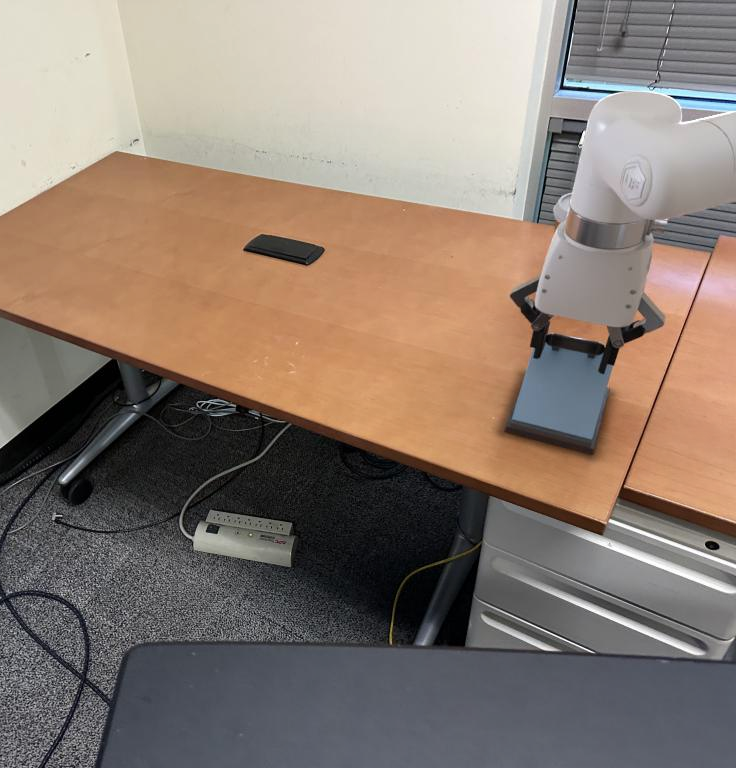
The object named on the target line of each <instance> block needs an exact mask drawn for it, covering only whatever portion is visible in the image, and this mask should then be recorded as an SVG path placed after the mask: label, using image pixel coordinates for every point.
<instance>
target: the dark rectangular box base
mask: <svg viewBox="0 0 736 768" xmlns="http://www.w3.org/2000/svg"><path fill="white" fill-rule="evenodd" d="M522 384H523V381H522V382H521V386H520V388H519V390H518V393H517V395H516V398H515V401H514V404H513V406H512V409H511V410H510V413H509V416H508V418H507V421H506V424H505V426H504V432H505V433H507V434H512V435H515V436H519V437H523V438H527V439H531V440H534V441H538V442H541V443H545V444H548V445H552V446H556V447H560V448H565V449H566V450H567V449H568V450H572V451H576V452H578V453H579V452H580V453H583V454H586V455H590V456H593V454H594V452H595V449H596V444H597V440H598V436H599V433H600V429H601V425H602V421H603V417H604V415H605V414H604V413H605V411H606V406H607V401H608V398H609V394H610V390H611V388H610V387H609V386H607V389H606V392H605V396H604V399H603V403H602V406H601V410H600V413H599V417H598V420H597V424H596V427H595V431H594V434H593V438H592V440H589V439H585V438H581V437H577V436H573V435H569V434H565V433H561V432H557V431H553V430H550V429H546V428H542V427H538V426H534V425H530V424H526V423H522V422H518V421H515V420H512V417H513V414H514V411H515V407H516V404H517V400H518V397H519V394H520V390H521V387H522Z"/></svg>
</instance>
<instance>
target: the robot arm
mask: <svg viewBox="0 0 736 768" xmlns="http://www.w3.org/2000/svg"><path fill="white" fill-rule="evenodd" d="M682 119H683V111H682V107H681V105H680V103H679V102H678V101H677V100H675V98H673V97H671V96H669V95H667V94H663V93H659V92H654V91H648V90H628V91H621V92H615V93H612V94H609V95H607V96H605V97H602V98H601V99H599V100H598V101H597V102H596V103H595V105H594V106H593V108H592V110H591V111H590V113H589V116H588V119H587V125H586V128H585V133H584V137H583V142H582V147H581V151H580V155H579V159H578V164H577V169H576V173H575V179H574V183H573V186H572V191H571V193H572V196H571V200H570V205H569V209H568V213H567V218H566V221H563V222H561V223H560V224H559V226H558V227H557V229H556V232H555V234H554V233H553V236H552V239H551V241H550V244H549V246H548V250H547V252H546V256H545V259H544V263H543V266H542V269H541V273H540V274H539V275H536V276H535V277H532V278H530V279H528V280H526V281H525V282H523V283H520V284H519V285H516V286H515V287H513V288H512V290H511V292H510V293H509V298H510V299H511V301H512V302H513V303H514V304H515V305H516V307H517V308H519V310H520V313H521V314H522V316H524V318H525V319H526V320H527V321H528V322H529V324H530V328H531V330H532V335H531V339H530V344H529V348H532V349H533V348H535V352H534V356H533V358H534V359H538V358H539V359H540V357H541V354H542V352H543V349H544V347H545V343H546V341H545V339H546V336H547V335H548V334H549V330H550V325H551V321H550V320H552V318H554V317H561V318H563V319H569V320H574V321H578V322H585V323H589V324H594V325H601V326H606V328H607V332H608V337H607V340H606V343H605V345H604V346H605V350H604V353H603V356H602V360H601V363H600V366H599V369H598V372H600V374H604V373H605V370H606V367H607V364H608V365H613V367H614V366H615V364H616V361H617V358H618V355H619V352H620V349H621V348H623V347H624V346H625V344H627V343H630V342H632V341H635V340H638V339H639V338H642V337H643V336H645V334H649V333H651V332H653V331H656V330H659V329H661V328H662V327H664V326H665V322H666V318H667V317H666V315H665V314H664V313H663V311H661V310H660V308H659V307H658V306H657V305H656V304H655V303H654V301H652V299H651V298H650V297H649V296H648V294H646V292H645V287H646V283H647V279H648V276H649V273H650V268H651V264H652V257H653V251H654V250H653V249H654V234H655V233H661V234H664V233H665V231H666V229H667V225H668V222H669V220H671V219H674V218H679V217H681V216H686V215H690V214H694V213H698V212H702V211H706V210H708V209H712V208H716V207H720V206H723V205H729V204H732V203H736V110H732V111H728V112H724V113H720V114H715V115H712V116H711V115H710V116H707V117H702V118H698V119H695V120H690V121H682ZM534 293H535V297H534V299H531V298H530V295H533V294H534ZM638 312H639V314H640V315H641V316H642V317H643V318H642V319H641V320H638V319H637V320H635V317H636V315H637V313H638ZM634 320H635V321H634Z"/></svg>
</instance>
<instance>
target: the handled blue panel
mask: <svg viewBox="0 0 736 768" xmlns="http://www.w3.org/2000/svg"><path fill="white" fill-rule="evenodd" d="M545 341H546V343H545V347H544V349H543V352H542V354H541V357H540V359H539V358H538V359H534V358H533V356H534V352H535V348H532V350H531V354H530V357H529V360H528V364H527V367H526V370H525V374H524V377H523V380H522V382H523V384H522V383H521V385H522V387H521V386H520V388H521V390H520V389H519V390H520V394H519V397H518V400H517V404H516V407H515V411H514V414H513V417H512V420H515V421H518V422H522V423H526V424H530V425H534V426H538V427H542V428H546V429H550V430H553V431H557V432H561V433H565V434H569V435H573V436H577V437H581V438H585V439H589V440H592V438H593V434H594V431H595V427H596V424H597V420H598V417H599V413H600V410H601V406H602V403H603V399H604V396H605V392H606V389H607V387H608V386H609V382H610V378H611V374H612V370H613V367H614V366H613V365H608V364H607V367H606V370H605V373H604V374H600V372H598V369H599V366H600V363H601V360H602V356H603V353H604V350H605V346H606V345H605V344H604V343H603V342H601V341H597V340H593V339H587V338H581V337H577V336H571V335H567V334H561V333H556V332H551V333H548V335H547V336H546V339H545Z"/></svg>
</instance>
